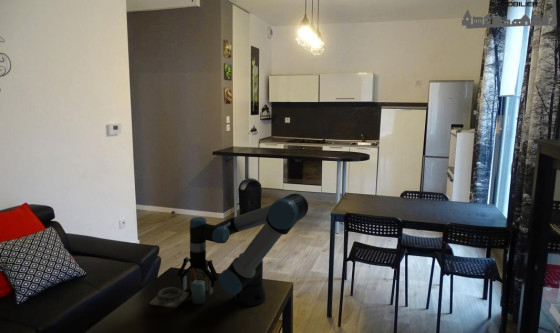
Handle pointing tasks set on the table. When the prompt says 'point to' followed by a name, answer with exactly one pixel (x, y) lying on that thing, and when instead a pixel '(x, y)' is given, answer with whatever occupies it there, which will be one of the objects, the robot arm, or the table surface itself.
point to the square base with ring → (169, 297)
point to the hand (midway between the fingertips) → (197, 291)
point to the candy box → (199, 276)
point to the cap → (198, 292)
